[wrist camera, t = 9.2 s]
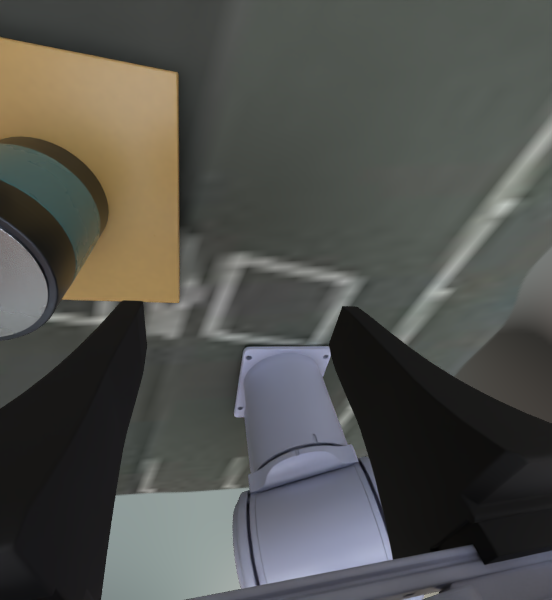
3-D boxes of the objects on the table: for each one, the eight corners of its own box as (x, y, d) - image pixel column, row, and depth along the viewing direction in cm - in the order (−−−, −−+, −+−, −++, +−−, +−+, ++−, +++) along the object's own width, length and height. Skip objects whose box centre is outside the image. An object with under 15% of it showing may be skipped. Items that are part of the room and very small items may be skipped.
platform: (181, 282, 22) (179, 303, 20) (-27, 272, 19) (-54, 297, 17) (181, 71, 15) (177, 72, 13) (-143, 6, 12) (-210, -5, 10)
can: (115, 253, 17) (72, 344, 12) (-3, 246, 16) (-115, 344, 10) (100, 145, 14) (33, 199, 9) (-47, 125, 13) (-240, 172, 7)
